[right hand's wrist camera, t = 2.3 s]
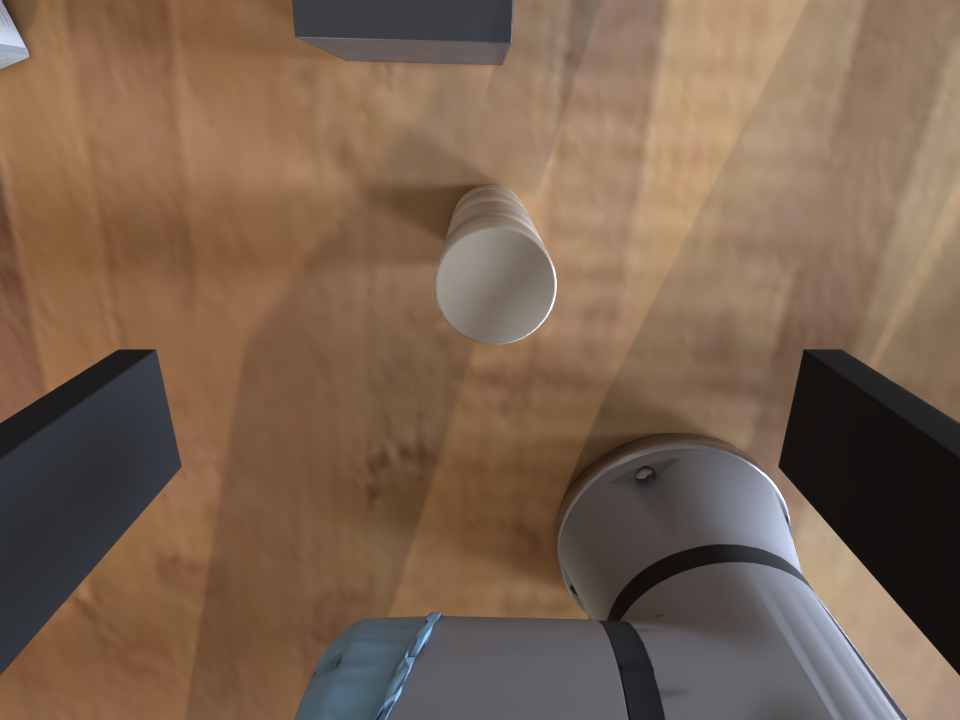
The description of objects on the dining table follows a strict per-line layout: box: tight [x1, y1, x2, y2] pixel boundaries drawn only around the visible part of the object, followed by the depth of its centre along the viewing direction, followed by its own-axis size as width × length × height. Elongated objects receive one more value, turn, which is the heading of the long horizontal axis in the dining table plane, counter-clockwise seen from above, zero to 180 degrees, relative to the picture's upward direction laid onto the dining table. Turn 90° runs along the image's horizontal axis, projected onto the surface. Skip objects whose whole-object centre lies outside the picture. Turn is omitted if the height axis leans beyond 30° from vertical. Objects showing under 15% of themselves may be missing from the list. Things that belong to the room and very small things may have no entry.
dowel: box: [434, 184, 557, 345], centre depth 27 cm, size 4×4×14 cm
